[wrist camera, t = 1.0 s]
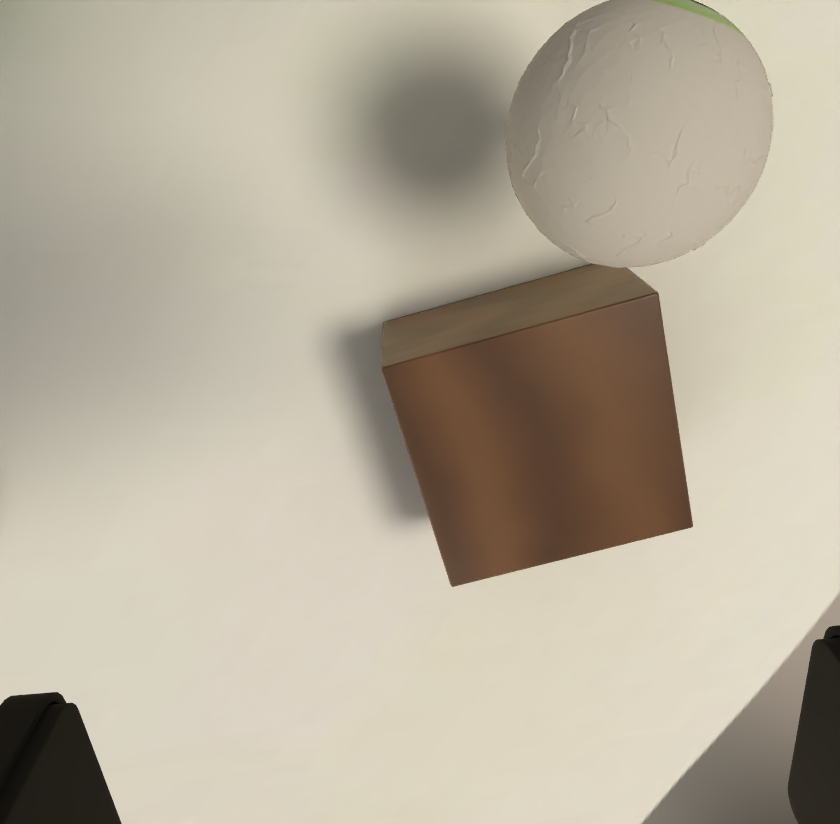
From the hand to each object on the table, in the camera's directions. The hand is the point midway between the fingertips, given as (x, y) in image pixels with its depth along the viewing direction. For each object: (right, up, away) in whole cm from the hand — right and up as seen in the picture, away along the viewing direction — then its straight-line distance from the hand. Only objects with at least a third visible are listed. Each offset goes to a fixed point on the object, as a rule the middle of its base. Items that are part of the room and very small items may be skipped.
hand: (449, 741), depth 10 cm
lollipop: (+5, +17, +22) cm, 28 cm away
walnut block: (+5, +5, +27) cm, 28 cm away
